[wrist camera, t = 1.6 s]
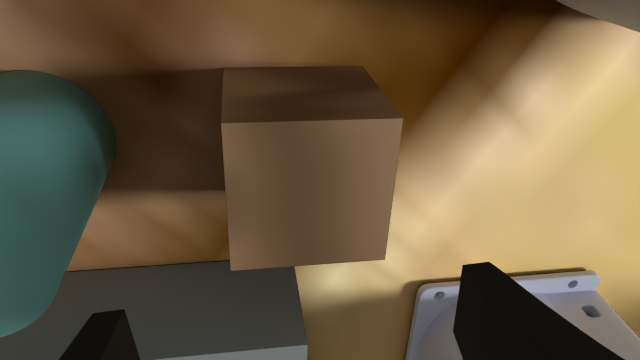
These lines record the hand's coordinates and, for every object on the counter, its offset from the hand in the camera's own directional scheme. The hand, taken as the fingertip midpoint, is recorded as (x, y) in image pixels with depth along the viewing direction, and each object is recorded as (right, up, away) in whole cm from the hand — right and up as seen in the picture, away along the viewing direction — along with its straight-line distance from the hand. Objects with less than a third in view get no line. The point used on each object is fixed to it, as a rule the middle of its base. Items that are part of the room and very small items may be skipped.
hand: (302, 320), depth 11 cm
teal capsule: (-10, +5, +7) cm, 13 cm away
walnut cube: (-1, +5, +8) cm, 10 cm away
